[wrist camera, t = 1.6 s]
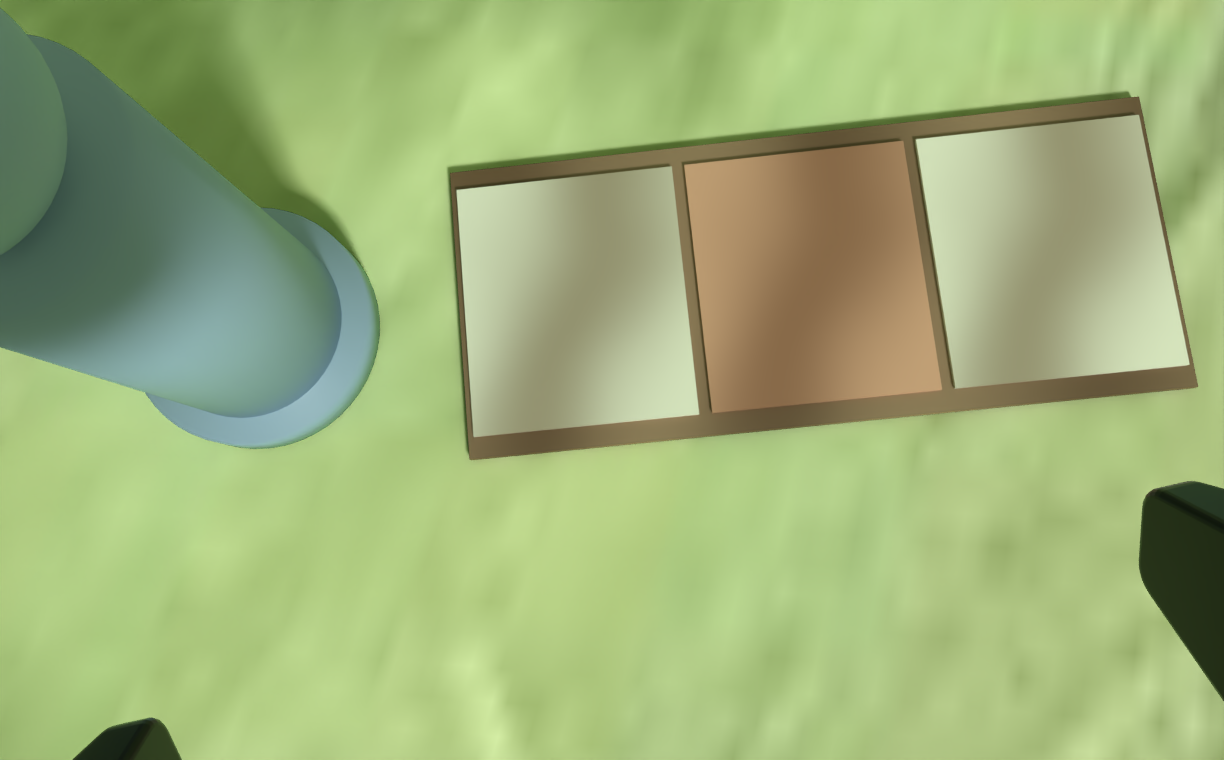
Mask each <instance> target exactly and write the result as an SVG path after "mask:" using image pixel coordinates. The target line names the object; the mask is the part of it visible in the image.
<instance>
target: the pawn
mask: <svg viewBox="0 0 1224 760" xmlns="http://www.w3.org/2000/svg"><path fill="white" fill-rule="evenodd" d="M379 336H380V318H379V310H378V304H377V300H376V297H375V293H374V290H373V288H372V285H371V283H370V281H369V278H368V276H367V275H366V273H365V271H364V270H363V268H362V266H361V265H360V264H359V263H358V261H357V260H356V259H355V258H354V256H353V255H352V254H351V253H350V252H349V251H348V250H347V249H346V248H345V247H344V246H343V245H342V244H340V243H339V242H338V241H337V240H336V239H335V238H334V237H333V236H332V235H331V234H330V233H329V232H328V231H326V230H325V229H323V228H322V227H320V226H319V225H317V224H316V223H314V222H312V221H310V220H308V219H306V218H304V217H302V216H300V215H297V214H294V213H291V212H288V211H283V210H278V209H273V208H260V207H259V206H257V205H256V204H255V203H254V202H253V201H252V200H250V199H249V198H248V197H247V196H246V195H244V194H243V193H242V192H241V191H240V190H239V189H237V188H236V187H235V186H234V185H233V184H232V183H230V182H229V181H228V180H227V179H226V178H225V177H223V176H222V175H221V174H220V173H219V172H218V171H216V170H215V169H214V168H213V167H212V166H211V165H209V164H208V163H207V162H206V161H205V160H203V159H202V158H201V157H200V156H199V155H198V154H196V153H195V152H194V151H193V150H192V149H191V148H189V147H188V146H187V145H186V144H185V143H184V142H182V141H181V140H180V139H179V138H178V137H177V136H175V135H174V134H173V133H172V132H171V131H170V130H168V129H167V128H166V127H165V126H164V125H163V124H161V123H160V122H159V121H158V120H157V119H155V118H154V117H153V116H152V115H151V114H150V113H148V112H147V111H146V110H145V109H144V108H143V107H141V106H140V105H139V104H138V103H137V102H136V101H134V100H133V99H132V98H131V97H130V96H129V95H127V94H126V93H125V92H124V91H123V90H122V89H120V88H119V87H118V86H117V85H116V84H115V83H113V82H112V81H111V80H110V79H109V78H107V77H106V76H105V75H104V74H103V73H102V72H100V71H99V70H98V69H97V68H96V67H95V66H93V65H92V64H91V63H90V62H89V61H87V60H86V59H85V58H83V57H82V56H80V55H79V54H77V53H76V52H74V51H73V50H71V49H69V48H67V47H65V46H63V45H61V44H59V43H57V42H54V41H51V40H48V39H45V38H42V37H38V36H33V35H28V34H26V33H25V32H24V31H23V30H22V28H21V27H20V26H19V25H18V24H17V23H16V22H15V21H14V20H13V19H12V18H11V17H10V16H9V15H8V14H7V13H5V12H4V11H3V10H2V9H1V8H0V347H1V348H5V349H8V350H11V351H14V352H17V353H21V354H24V355H27V356H30V357H33V358H37V359H40V360H43V361H46V362H49V363H53V364H56V365H59V366H62V367H65V368H69V369H72V370H75V371H78V372H81V373H85V374H88V375H91V376H94V377H98V378H101V379H104V380H107V381H110V382H114V383H117V384H120V385H123V386H126V387H130V388H133V389H136V390H139V391H142V392H145V393H146V395H147V396H148V398H149V399H150V400H151V402H152V403H153V404H154V406H155V407H156V408H157V409H158V410H159V411H160V412H161V413H162V414H163V415H164V416H165V417H166V418H167V419H169V420H170V421H171V422H173V423H174V424H175V425H177V426H178V427H180V428H182V429H183V430H185V431H187V432H189V433H191V434H193V435H196V436H198V437H201V438H203V439H206V440H210V441H214V442H218V443H222V444H226V445H231V446H235V447H239V448H250V449H264V448H274V447H280V446H285V445H288V444H292V443H295V442H298V441H301V440H303V439H305V438H307V437H309V436H312V435H314V434H316V433H317V432H319V431H320V430H322V429H324V428H325V427H327V426H328V425H329V424H331V423H332V422H333V421H334V420H336V419H337V418H338V417H339V416H340V415H341V414H342V413H343V412H344V411H345V410H346V409H347V408H348V407H349V406H350V405H351V404H352V402H353V401H354V400H355V398H356V397H357V396H358V394H359V393H360V391H361V390H362V388H363V386H364V384H365V383H366V381H367V379H368V377H369V375H370V372H371V370H372V367H373V365H374V361H375V358H376V354H377V350H378V344H379Z"/></svg>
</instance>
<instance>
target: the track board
mask: <svg viewBox="0 0 1224 760" xmlns="http://www.w3.org/2000/svg"><path fill="white" fill-rule="evenodd" d="M450 179H451V194H452V208H453V223H454V238H455V252H456V267H457V282H458V297H459V311H460V326H461V341H462V355H463V370H464V385H465V399H466V414H467V429H468V444H469V458H470V460H478V459H488V458H498V457H508V456H518V455H528V454H538V453H548V452H559V451H569V450H579V449H589V448H599V447H609V446H619V445H629V444H639V443H649V442H659V441H669V440H679V439H689V438H699V437H709V436H719V435H729V434H739V433H749V432H759V431H769V430H779V429H789V428H799V427H809V426H819V425H829V424H839V423H849V422H859V421H869V420H879V419H889V418H899V417H909V416H919V415H929V414H939V413H949V412H959V411H969V410H979V409H989V408H999V407H1009V406H1019V405H1029V404H1039V403H1049V402H1059V401H1069V400H1079V399H1089V398H1099V397H1109V396H1119V395H1129V394H1139V393H1149V392H1159V391H1169V390H1179V389H1189V388H1195V387H1198V383H1197V379H1196V374H1195V369H1194V364H1193V359H1192V354H1191V349H1190V344H1189V339H1188V334H1187V330H1186V325H1185V320H1184V315H1183V310H1182V305H1181V300H1180V295H1179V290H1178V285H1177V281H1176V276H1175V271H1174V266H1173V261H1172V256H1171V251H1170V246H1169V241H1168V236H1167V232H1166V227H1165V222H1164V217H1163V212H1162V207H1161V202H1160V197H1159V192H1158V188H1157V183H1156V178H1155V173H1154V168H1153V163H1152V158H1151V153H1150V148H1149V143H1148V139H1147V134H1146V129H1145V124H1144V119H1143V114H1142V109H1141V104H1140V99H1139V97H1131V98H1122V99H1113V100H1104V101H1095V102H1086V103H1077V104H1067V105H1058V106H1049V107H1040V108H1031V109H1022V110H1013V111H1004V112H995V113H986V114H977V115H968V116H959V117H950V118H941V119H932V120H923V121H914V122H905V123H896V124H887V125H878V126H869V127H860V128H851V129H842V130H833V131H824V132H815V133H806V134H797V135H788V136H779V137H770V138H761V139H752V140H743V141H734V142H725V143H716V144H707V145H698V146H689V147H680V148H671V149H662V150H653V151H644V152H635V153H626V154H617V155H608V156H599V157H590V158H581V159H572V160H563V161H554V162H545V163H536V164H527V165H518V166H509V167H500V168H491V169H482V170H473V171H464V172H455V173H450Z"/></svg>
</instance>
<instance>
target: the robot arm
mask: <svg viewBox="0 0 1224 760" xmlns="http://www.w3.org/2000/svg"><path fill="white" fill-rule="evenodd" d="M1139 569H1140V574H1141V578H1142V581H1143V583H1144V585H1145V587H1146V589H1147V591H1148V592H1149V594H1150V595H1151V597H1152V598H1153V600H1154V601H1155V603H1156V604H1157V606H1158V607H1159V608H1160V610H1161V611H1162V613H1163V614H1164V616H1165V617H1166V619H1167V620H1168V622H1169V623H1170V624H1171V626H1172V627H1173V629H1174V630H1175V632H1176V633H1177V635H1178V636H1179V637H1180V639H1181V640H1182V642H1183V643H1184V645H1185V646H1186V648H1187V649H1188V650H1189V652H1190V653H1191V655H1192V656H1193V658H1194V659H1195V661H1196V662H1197V663H1198V665H1199V666H1200V668H1201V669H1202V671H1203V672H1204V674H1205V675H1206V676H1207V678H1208V679H1209V681H1210V682H1211V684H1212V685H1213V687H1214V688H1215V689H1216V691H1217V692H1218V694H1219V695H1220V697H1221V698H1222V700H1223V701H1224V489H1223V488H1219V487H1215V486H1212V485H1208V484H1204V483H1201V482H1196V481H1187V482H1182V483H1178V484H1173V485H1169V486H1165V487H1160V488H1156V489H1153V490H1152V491H1150V492H1149V493H1148V494H1147V495H1146V497H1145V499H1144V501H1143V507H1142V520H1141V536H1140V551H1139ZM73 760H182V759H181V757H180V755H179V753H178V751H177V749H176V747H175V744H174V742H173V740H172V738H171V736H170V734H169V732H168V730H167V728H166V727H165V725H164V724H163V723H162V722H161V721H160V720H158V719H155V718H146V719H141V720H137V721H132V722H128V723H123V724H119V725H115V726H112V727H109V728H107V729H106V730H104V731H103V732H102V733H101V734H100V735H99V736H98V737H96V738H95V739H94V740H93V741H92V742H91V743H90V744H89V745H88V746H87V747H86V748H85V749H83V750H82V751H81V752H80V753H79V754H78V755H77V756H76V757H75V758H74V759H73Z"/></svg>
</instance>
